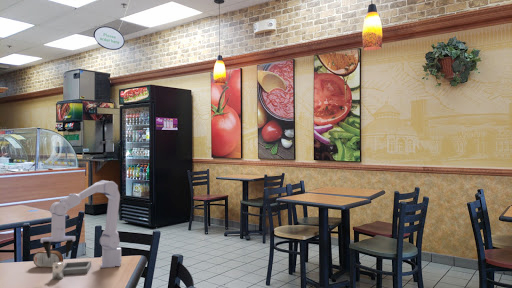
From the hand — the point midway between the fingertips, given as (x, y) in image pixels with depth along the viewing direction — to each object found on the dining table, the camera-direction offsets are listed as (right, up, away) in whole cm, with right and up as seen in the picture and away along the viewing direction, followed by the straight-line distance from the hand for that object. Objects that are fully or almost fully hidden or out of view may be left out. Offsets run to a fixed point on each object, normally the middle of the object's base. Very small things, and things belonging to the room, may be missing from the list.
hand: (58, 257), depth 180 cm
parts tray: (+3, -10, +11) cm, 15 cm away
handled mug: (0, -10, 0) cm, 10 cm away
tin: (-14, -10, +16) cm, 23 cm away
